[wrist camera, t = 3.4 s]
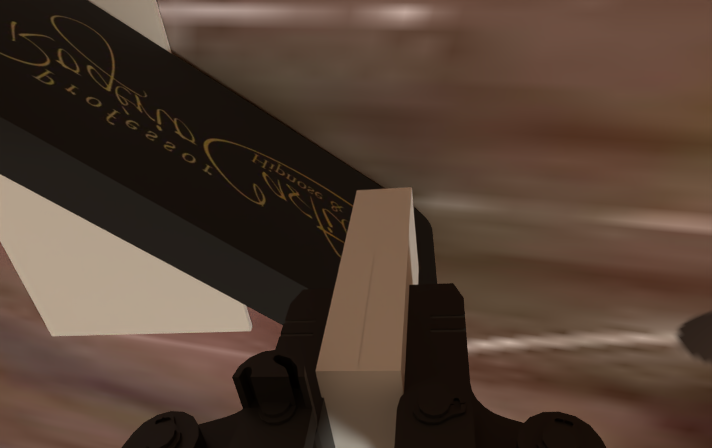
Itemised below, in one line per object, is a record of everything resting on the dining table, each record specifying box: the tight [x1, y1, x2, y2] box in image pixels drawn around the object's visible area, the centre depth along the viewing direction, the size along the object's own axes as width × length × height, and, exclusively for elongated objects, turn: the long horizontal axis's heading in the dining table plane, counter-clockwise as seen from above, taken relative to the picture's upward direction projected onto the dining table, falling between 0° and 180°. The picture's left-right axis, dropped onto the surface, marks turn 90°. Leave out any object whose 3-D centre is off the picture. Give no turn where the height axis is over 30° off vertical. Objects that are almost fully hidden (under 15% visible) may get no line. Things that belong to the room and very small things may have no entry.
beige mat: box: [0, 0, 252, 336], centre depth 28 cm, size 13×26×1 cm, turn 7°
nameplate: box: [0, 0, 437, 325], centre depth 22 cm, size 21×2×10 cm, turn 56°
